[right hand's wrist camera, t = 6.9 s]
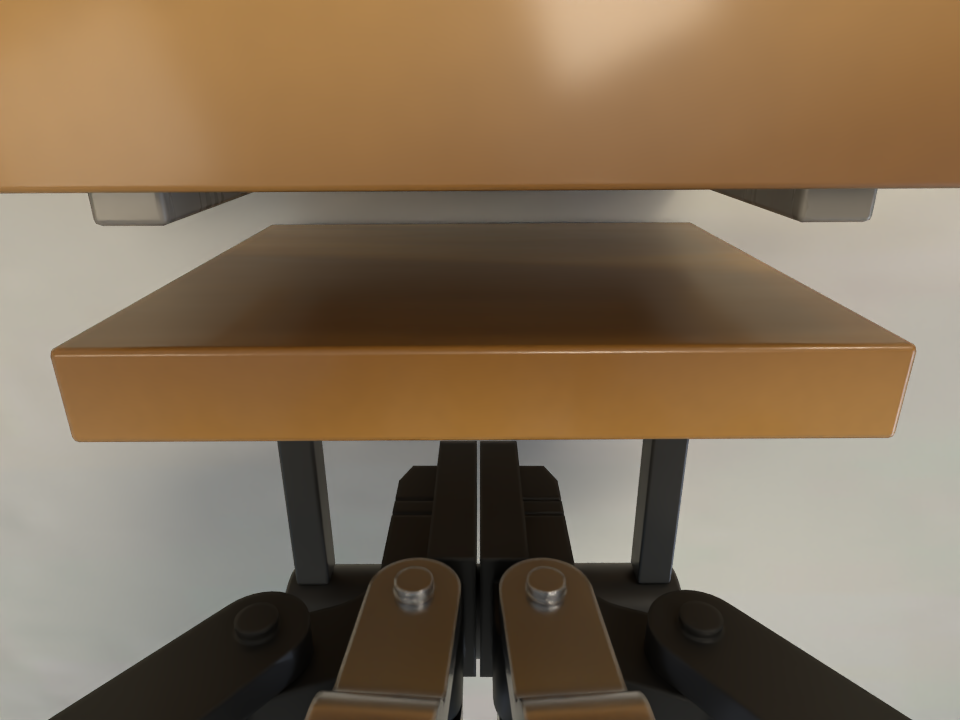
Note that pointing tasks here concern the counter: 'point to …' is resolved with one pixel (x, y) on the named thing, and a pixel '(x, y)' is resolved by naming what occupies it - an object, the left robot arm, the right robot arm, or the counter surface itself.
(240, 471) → the counter surface
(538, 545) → the right robot arm
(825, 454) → the counter surface
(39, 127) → the cabinet
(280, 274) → the drawer
